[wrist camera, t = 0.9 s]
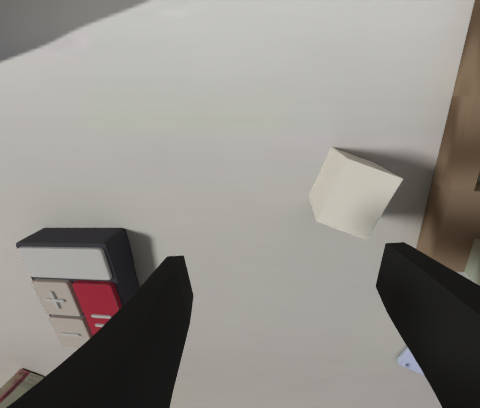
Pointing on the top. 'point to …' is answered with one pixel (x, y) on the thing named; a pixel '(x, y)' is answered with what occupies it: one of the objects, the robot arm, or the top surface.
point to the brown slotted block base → (458, 171)
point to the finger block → (351, 193)
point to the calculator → (79, 277)
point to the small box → (17, 387)
